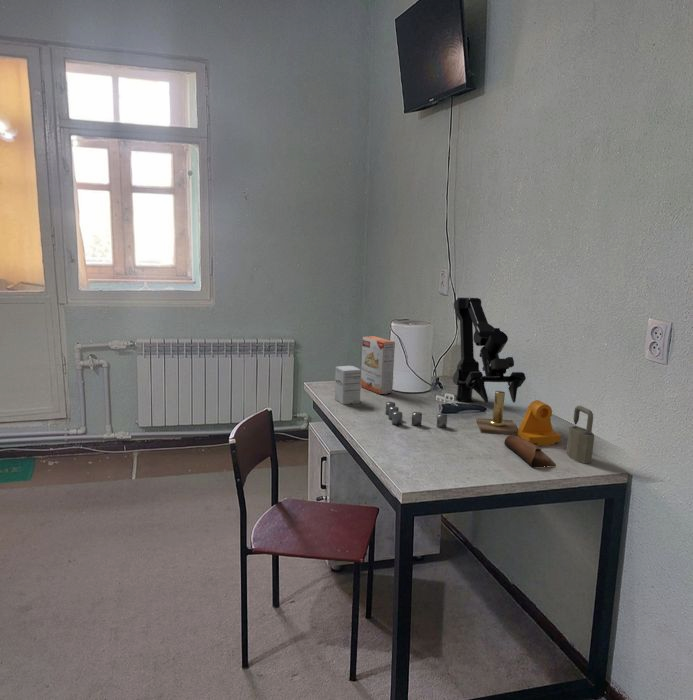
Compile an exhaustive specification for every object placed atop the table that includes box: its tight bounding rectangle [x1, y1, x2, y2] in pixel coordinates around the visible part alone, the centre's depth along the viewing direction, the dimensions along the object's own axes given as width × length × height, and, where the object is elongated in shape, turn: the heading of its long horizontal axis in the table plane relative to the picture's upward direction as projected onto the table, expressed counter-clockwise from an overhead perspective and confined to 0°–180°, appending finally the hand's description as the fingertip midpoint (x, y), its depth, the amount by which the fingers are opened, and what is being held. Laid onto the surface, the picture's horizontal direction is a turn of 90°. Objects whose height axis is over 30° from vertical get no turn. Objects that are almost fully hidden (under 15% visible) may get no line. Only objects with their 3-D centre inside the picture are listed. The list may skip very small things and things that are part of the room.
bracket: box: [517, 400, 562, 446], centre depth 181 cm, size 11×7×12 cm, turn 103°
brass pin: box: [490, 390, 506, 427], centre depth 192 cm, size 5×5×11 cm
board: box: [475, 417, 519, 436], centre depth 193 cm, size 12×12×1 cm
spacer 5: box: [436, 413, 448, 429], centre depth 191 cm, size 3×3×4 cm
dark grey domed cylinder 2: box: [388, 405, 400, 421], centre depth 198 cm, size 3×3×4 cm
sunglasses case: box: [503, 435, 557, 468], centre depth 168 cm, size 18×7×7 cm, turn 9°
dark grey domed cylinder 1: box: [385, 401, 396, 416], centre depth 203 cm, size 3×3×4 cm
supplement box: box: [334, 365, 362, 405], centre depth 216 cm, size 7×7×13 cm
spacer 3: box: [391, 411, 403, 427], centre depth 192 cm, size 3×3×4 cm
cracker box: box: [360, 335, 396, 395], centre depth 232 cm, size 14×6×21 cm, turn 33°
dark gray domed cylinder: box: [411, 411, 423, 428], centre depth 192 cm, size 3×3×4 cm
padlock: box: [565, 405, 595, 464], centre depth 167 cm, size 4×8×15 cm, turn 14°
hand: (500, 402), depth 190 cm, fingers open, 9 cm apart
